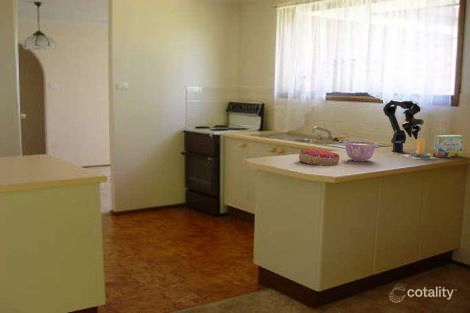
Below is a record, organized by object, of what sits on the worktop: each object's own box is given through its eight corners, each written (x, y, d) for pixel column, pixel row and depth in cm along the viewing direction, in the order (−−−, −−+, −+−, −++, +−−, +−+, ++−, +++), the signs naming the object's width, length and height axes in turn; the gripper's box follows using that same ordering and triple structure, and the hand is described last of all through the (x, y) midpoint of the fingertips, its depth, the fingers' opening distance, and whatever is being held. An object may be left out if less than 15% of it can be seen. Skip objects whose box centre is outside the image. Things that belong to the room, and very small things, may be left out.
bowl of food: (352, 163, 327) (353, 145, 325) (338, 158, 346) (339, 141, 344) (381, 162, 332) (382, 144, 330) (365, 157, 351) (366, 140, 349)
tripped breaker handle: (416, 153, 357) (417, 138, 355) (421, 153, 358) (422, 138, 356) (418, 154, 354) (419, 139, 352) (424, 154, 355) (425, 139, 353)
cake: (291, 158, 335) (292, 146, 333) (325, 158, 344) (326, 147, 342) (309, 167, 312) (311, 154, 311) (345, 167, 321) (347, 154, 320)
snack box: (438, 157, 358) (440, 136, 356) (432, 156, 364) (434, 135, 361) (461, 156, 366) (463, 135, 364) (455, 155, 371) (457, 134, 369)
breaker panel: (400, 155, 364) (401, 150, 364) (422, 155, 368) (422, 150, 368) (414, 159, 347) (415, 154, 347) (437, 159, 351) (437, 154, 350)
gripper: (415, 111, 356) (419, 132, 352) (426, 116, 370) (430, 137, 365) (399, 116, 363) (403, 137, 359) (411, 121, 377) (415, 141, 372)
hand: (413, 138), depth 364 cm, fingers open, 9 cm apart
